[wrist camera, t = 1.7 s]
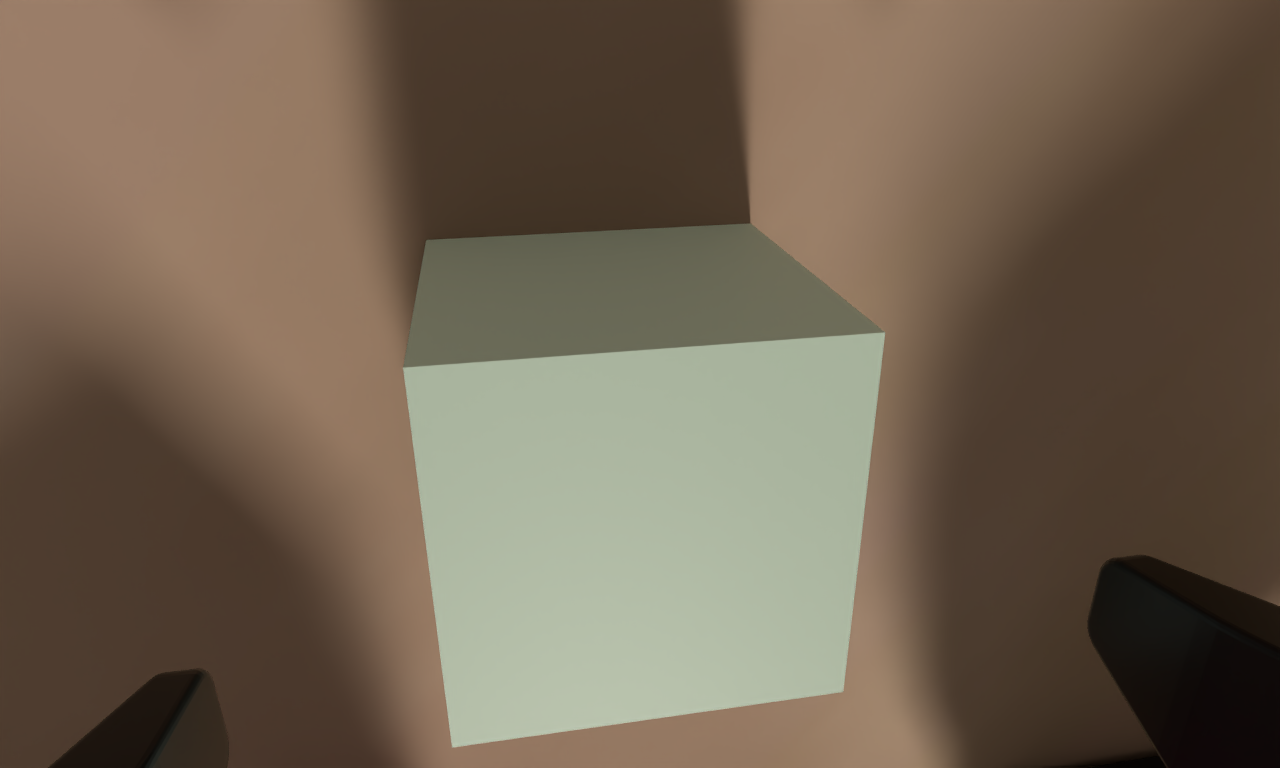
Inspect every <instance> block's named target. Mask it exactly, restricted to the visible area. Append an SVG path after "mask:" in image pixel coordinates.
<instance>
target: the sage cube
mask: <svg viewBox="0 0 1280 768" xmlns="http://www.w3.org/2000/svg"><path fill="white" fill-rule="evenodd" d="M884 339H885V332H884V331H883V330H882V329H880V328H879V327H878V326H877V325H875V324H874V323H873V322H872V321H870V320H869V319H868V318H867V317H866V316H864V315H863V314H862V313H861V312H859V311H858V310H857V309H856V308H854V307H853V306H852V305H851V304H849V303H848V302H847V301H846V300H845V299H843V298H842V297H841V296H840V295H838V294H837V293H836V292H835V291H833V290H832V289H831V288H830V287H828V286H827V285H826V284H825V283H824V282H822V281H821V280H820V279H819V278H817V277H816V276H815V275H814V274H812V273H811V272H810V271H809V270H807V269H806V268H805V267H804V266H803V265H801V264H800V263H799V262H798V261H796V260H795V259H794V258H793V257H791V256H790V255H789V254H788V253H786V252H785V251H784V250H783V249H782V248H780V247H779V246H778V245H777V244H775V243H774V242H773V241H772V240H770V239H769V238H768V237H767V236H765V235H764V234H763V233H762V232H760V231H759V230H758V229H757V228H756V227H754V226H753V225H752V224H751V223H749V224H730V225H710V226H690V227H671V228H651V229H631V230H612V231H592V232H572V233H553V234H533V235H514V236H494V237H474V238H455V239H435V240H426V244H425V249H424V255H423V260H422V266H421V272H420V277H419V283H418V288H417V294H416V299H415V305H414V310H413V316H412V322H411V327H410V333H409V338H408V344H407V349H406V355H405V361H404V366H403V370H404V378H405V385H406V393H407V401H408V409H409V416H410V424H411V432H412V440H413V447H414V455H415V463H416V471H417V478H418V486H419V494H420V502H421V509H422V517H423V525H424V533H425V541H426V548H427V556H428V564H429V572H430V579H431V587H432V595H433V603H434V610H435V618H436V626H437V634H438V641H439V649H440V657H441V665H442V672H443V680H444V688H445V696H446V703H447V711H448V719H449V727H450V734H451V742H452V747H459V746H466V745H473V744H480V743H487V742H494V741H501V740H508V739H515V738H522V737H529V736H536V735H543V734H550V733H557V732H564V731H571V730H578V729H585V728H592V727H599V726H606V725H613V724H621V723H628V722H635V721H642V720H649V719H656V718H663V717H670V716H677V715H684V714H691V713H698V712H705V711H712V710H719V709H726V708H733V707H740V706H747V705H754V704H761V703H768V702H775V701H782V700H790V699H797V698H804V697H811V696H818V695H825V694H832V693H839V692H843V689H844V680H845V672H846V663H847V655H848V646H849V638H850V629H851V621H852V612H853V603H854V595H855V586H856V578H857V569H858V561H859V552H860V544H861V535H862V527H863V518H864V509H865V501H866V492H867V484H868V475H869V467H870V458H871V450H872V441H873V433H874V424H875V415H876V407H877V398H878V390H879V381H880V373H881V364H882V356H883V347H884Z"/></svg>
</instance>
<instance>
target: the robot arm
mask: <svg viewBox="0 0 1280 768" xmlns="http://www.w3.org/2000/svg"><path fill="white" fill-rule="evenodd" d="M1087 626H1088V633H1089V637H1090V639H1091V642H1092V644H1093V646H1094V648H1095V649H1096V651H1097V653H1098V654H1099V656H1100V658H1101V660H1102V661H1103V663H1104V665H1105V666H1106V668H1107V670H1108V671H1109V673H1110V675H1111V676H1112V678H1113V680H1114V681H1115V683H1116V685H1117V686H1118V688H1119V690H1120V691H1121V693H1122V695H1123V696H1124V698H1125V700H1126V701H1127V703H1128V705H1129V706H1130V708H1131V710H1132V711H1133V713H1134V715H1135V716H1136V718H1137V720H1138V721H1139V723H1140V725H1141V726H1142V728H1143V730H1144V731H1145V733H1146V735H1147V737H1148V738H1149V740H1150V742H1151V743H1152V745H1153V747H1154V748H1155V750H1156V752H1157V753H1158V755H1159V756H1158V757H1152V758H1146V759H1140V760H1134V761H1128V762H1122V763H1116V764H1110V765H1104V766H1098V767H1092V768H1280V606H1277V605H1275V604H1272V603H1270V602H1267V601H1264V600H1262V599H1259V598H1257V597H1254V596H1251V595H1249V594H1246V593H1244V592H1241V591H1238V590H1236V589H1233V588H1231V587H1228V586H1225V585H1223V584H1220V583H1218V582H1215V581H1213V580H1210V579H1207V578H1205V577H1202V576H1200V575H1197V574H1194V573H1192V572H1189V571H1187V570H1184V569H1181V568H1179V567H1176V566H1174V565H1171V564H1168V563H1166V562H1163V561H1161V560H1158V559H1156V558H1153V557H1150V556H1146V555H1134V556H1126V557H1117V558H1112V559H1109V560H1107V561H1106V562H1105V563H1104V564H1103V566H1102V567H1101V569H1100V572H1099V576H1098V579H1097V583H1096V587H1095V591H1094V595H1093V599H1092V603H1091V607H1090V611H1089V615H1088V620H1087ZM228 757H229V742H228V735H227V731H226V727H225V723H224V719H223V716H222V712H221V708H220V704H219V701H218V697H217V693H216V689H215V686H214V682H213V679H212V677H211V676H210V674H209V673H208V671H206V670H203V669H199V668H198V669H190V670H181V671H173V672H165V673H161V674H158V675H156V676H155V677H153V678H152V679H150V680H149V681H148V682H147V683H146V684H145V685H143V686H142V687H141V688H140V689H139V690H138V691H136V692H135V693H134V694H133V695H132V696H131V697H129V698H128V699H127V700H126V701H125V702H124V703H123V704H121V705H120V706H119V707H118V708H117V709H116V710H114V711H113V712H112V713H111V714H110V715H109V716H107V717H106V718H105V719H104V720H103V721H102V722H100V723H99V724H98V725H97V726H96V727H95V728H94V729H92V730H91V731H90V732H89V733H88V734H87V735H85V736H84V737H83V738H82V739H81V740H80V741H78V742H77V743H76V744H75V745H74V746H73V747H72V748H70V749H69V750H68V751H67V752H66V753H65V754H63V755H62V756H61V757H60V758H59V759H58V760H56V761H55V762H54V763H53V764H52V765H51V766H49V767H48V768H227V765H228Z"/></svg>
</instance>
